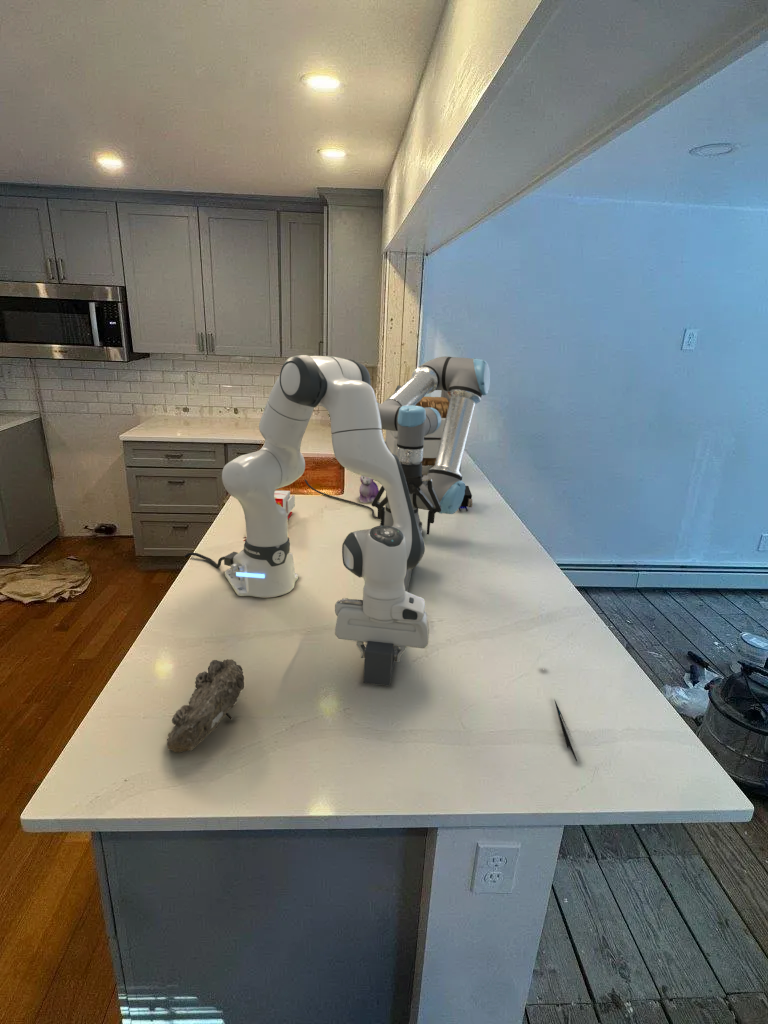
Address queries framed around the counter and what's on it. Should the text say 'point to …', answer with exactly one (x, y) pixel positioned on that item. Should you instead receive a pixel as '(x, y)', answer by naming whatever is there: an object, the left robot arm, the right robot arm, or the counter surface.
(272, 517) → the left robot arm
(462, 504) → the figurine character
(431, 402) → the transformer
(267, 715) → the counter surface
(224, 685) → the fossil
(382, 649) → the post
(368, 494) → the figurine
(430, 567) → the counter surface
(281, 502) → the toy
